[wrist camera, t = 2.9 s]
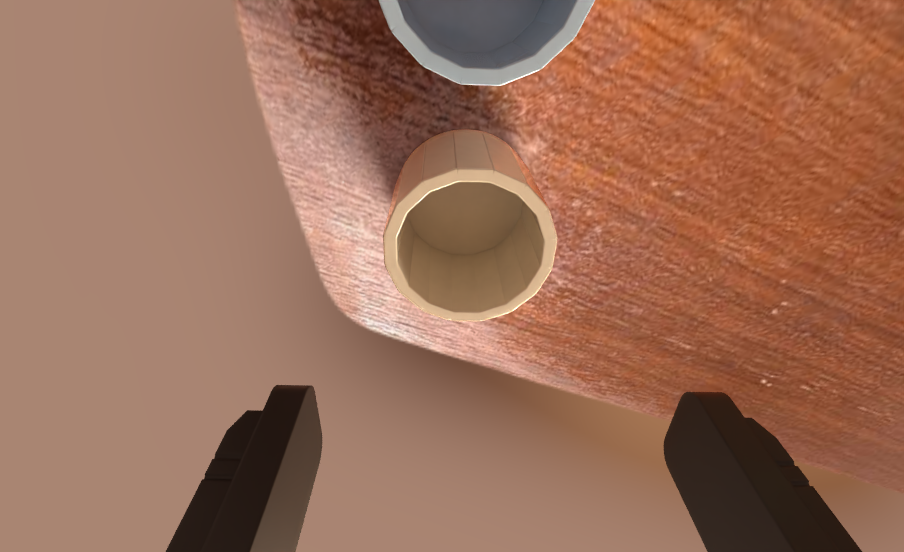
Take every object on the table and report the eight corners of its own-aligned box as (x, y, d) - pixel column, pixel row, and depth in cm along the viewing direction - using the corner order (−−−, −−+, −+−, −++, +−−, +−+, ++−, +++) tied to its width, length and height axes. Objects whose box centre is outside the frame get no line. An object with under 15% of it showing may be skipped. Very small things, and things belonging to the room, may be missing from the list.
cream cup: (397, 255, 23) (387, 320, 19) (393, 126, 20) (379, 165, 15) (522, 258, 24) (543, 323, 19) (539, 131, 20) (569, 170, 16)
